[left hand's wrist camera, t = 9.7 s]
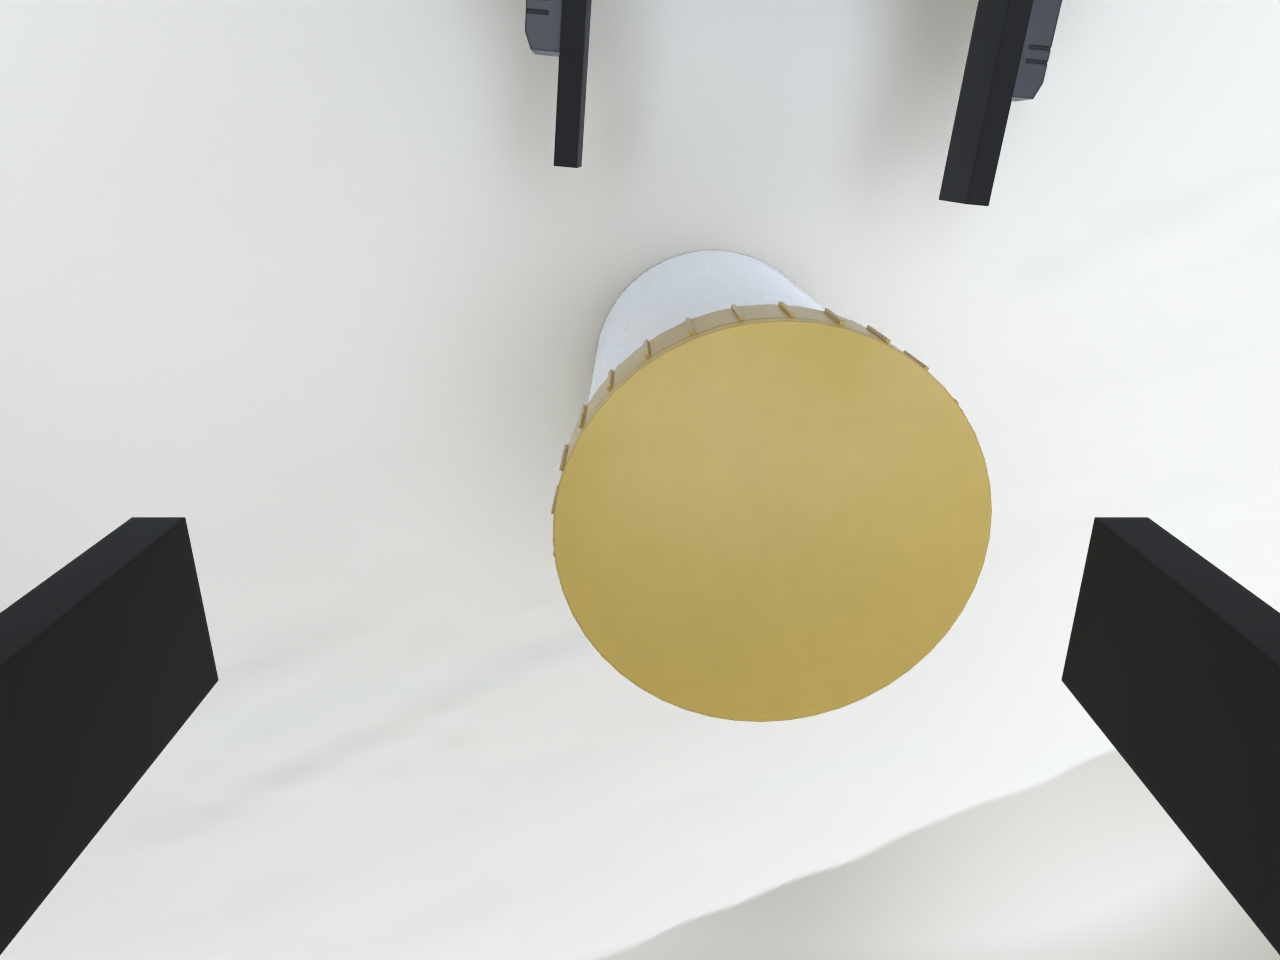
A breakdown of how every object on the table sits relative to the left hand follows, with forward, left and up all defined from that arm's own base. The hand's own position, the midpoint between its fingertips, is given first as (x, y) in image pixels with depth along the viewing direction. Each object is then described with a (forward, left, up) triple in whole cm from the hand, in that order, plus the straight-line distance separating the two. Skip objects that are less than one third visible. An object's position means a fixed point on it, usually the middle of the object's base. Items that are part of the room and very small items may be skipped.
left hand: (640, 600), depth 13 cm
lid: (0, -4, -8) cm, 9 cm away
